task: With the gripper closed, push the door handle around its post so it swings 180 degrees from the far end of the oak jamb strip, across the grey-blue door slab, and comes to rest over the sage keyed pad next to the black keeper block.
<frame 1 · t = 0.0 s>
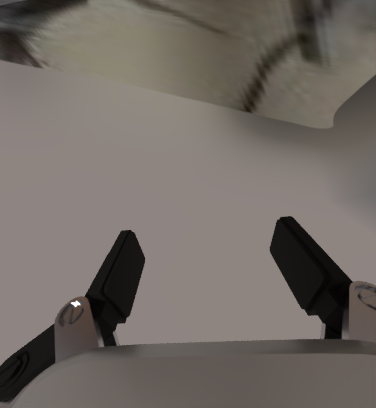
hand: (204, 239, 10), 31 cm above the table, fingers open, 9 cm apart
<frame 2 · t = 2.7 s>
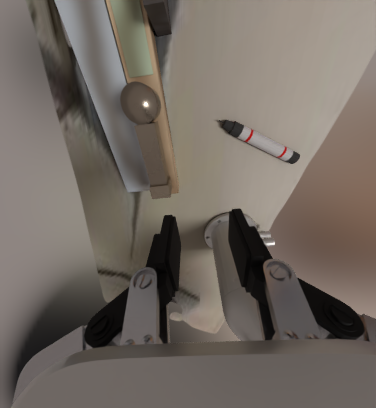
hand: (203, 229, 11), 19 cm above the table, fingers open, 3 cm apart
marker: (256, 139, 26), on the table
doorframe: (152, 104, 23), on the table
door handle: (152, 147, 21), point 6 cm above the table, hinge at 0.0°
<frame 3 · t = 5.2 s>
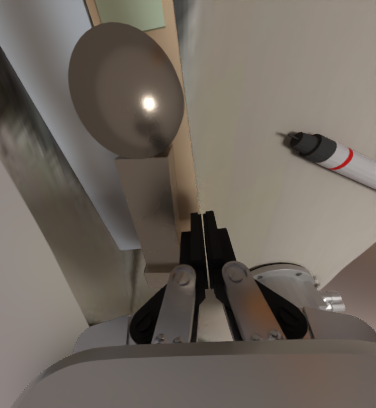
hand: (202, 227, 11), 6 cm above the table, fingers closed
marker: (343, 162, 15), on the table
doorframe: (160, 104, 12), on the table
door handle: (156, 199, 9), point 6 cm above the table, hinge at -5.8°, touching gripper
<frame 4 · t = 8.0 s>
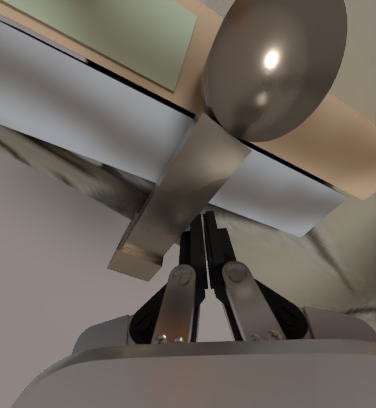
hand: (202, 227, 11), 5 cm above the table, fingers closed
doorframe: (223, 92, 11), on the table
door handle: (186, 180, 8), point 6 cm above the table, hinge at -99.2°, touching gripper
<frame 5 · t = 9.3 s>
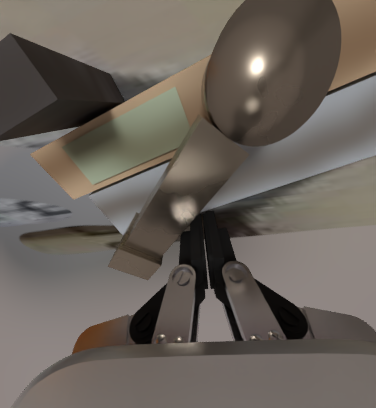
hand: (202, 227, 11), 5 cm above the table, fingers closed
doorframe: (224, 95, 11), on the table
door handle: (185, 181, 8), point 6 cm above the table, hinge at -145.8°, touching gripper
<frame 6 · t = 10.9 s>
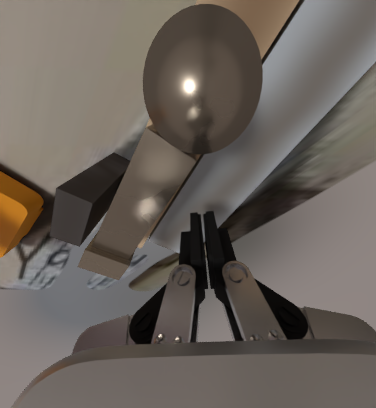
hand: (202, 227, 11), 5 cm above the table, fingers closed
doorframe: (194, 101, 11), on the table
door handle: (148, 185, 9), point 6 cm above the table, hinge at -182.4°
bracket: (1, 201, 17), on the table
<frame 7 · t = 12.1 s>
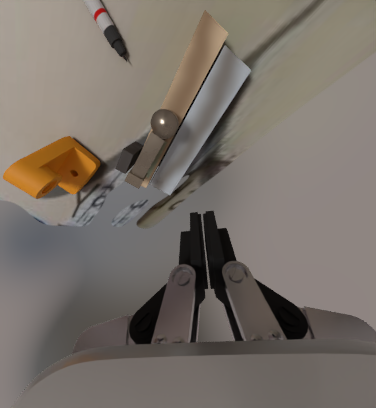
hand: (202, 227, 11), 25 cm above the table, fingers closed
marker: (94, 1, 22), on the table
doorframe: (169, 121, 29), on the table
door handle: (151, 150, 26), point 6 cm above the table, hinge at -182.4°
bracket: (77, 165, 34), on the table
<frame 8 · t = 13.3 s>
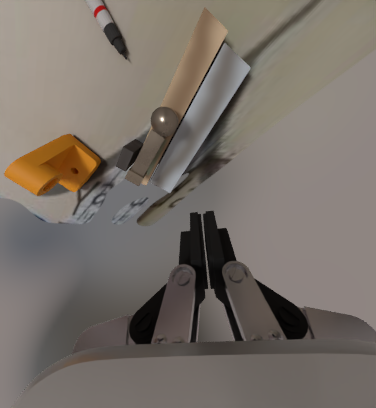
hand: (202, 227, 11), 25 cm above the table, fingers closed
doorframe: (169, 118, 29), on the table
door handle: (151, 148, 27), point 6 cm above the table, hinge at -182.4°
bracket: (78, 163, 34), on the table
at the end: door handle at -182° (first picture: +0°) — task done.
